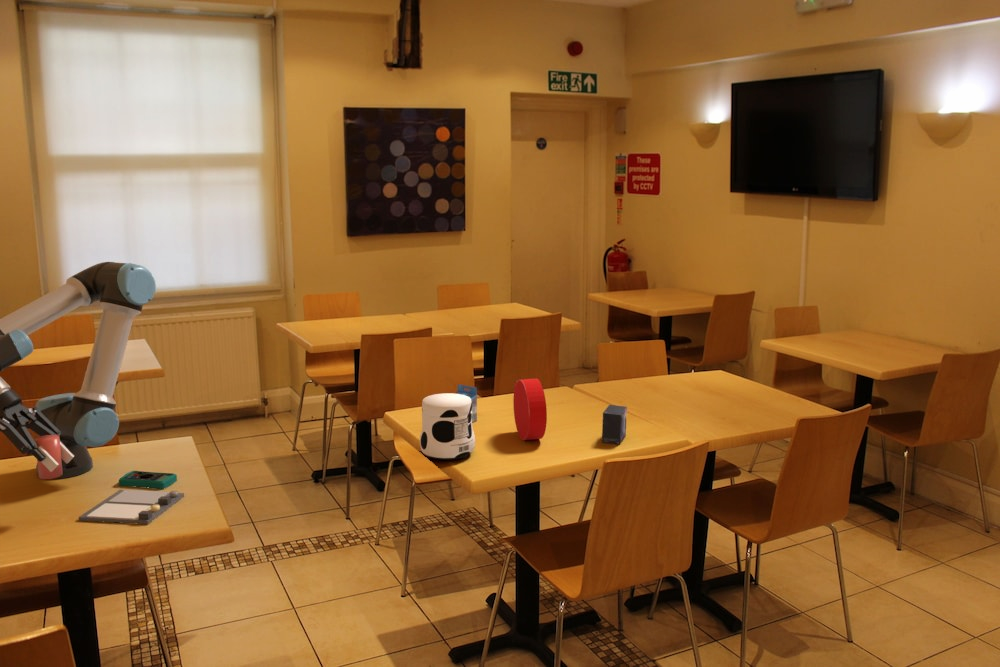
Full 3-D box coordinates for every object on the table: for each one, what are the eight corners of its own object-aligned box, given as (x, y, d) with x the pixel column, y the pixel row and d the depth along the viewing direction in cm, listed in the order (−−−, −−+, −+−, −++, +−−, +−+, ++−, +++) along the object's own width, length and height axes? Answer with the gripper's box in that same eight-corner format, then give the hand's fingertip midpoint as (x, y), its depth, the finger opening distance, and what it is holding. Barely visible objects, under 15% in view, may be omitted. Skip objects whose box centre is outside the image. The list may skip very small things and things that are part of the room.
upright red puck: (546, 446, 281) (547, 386, 277) (529, 448, 280) (529, 388, 276) (529, 428, 300) (530, 372, 296) (513, 429, 299) (513, 373, 295)
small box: (620, 445, 282) (621, 414, 280) (601, 443, 285) (601, 412, 282) (627, 435, 292) (627, 405, 290) (607, 434, 294) (608, 404, 292)
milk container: (428, 444, 284) (427, 391, 280) (480, 447, 281) (480, 393, 277) (413, 462, 267) (411, 405, 264) (467, 466, 264) (467, 408, 260)
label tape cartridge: (451, 419, 311) (450, 386, 308) (457, 417, 314) (457, 383, 312) (471, 423, 306) (470, 389, 303) (477, 421, 309) (477, 387, 307)
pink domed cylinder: (48, 470, 228) (44, 434, 225) (67, 472, 227) (64, 435, 225) (33, 478, 222) (30, 440, 220) (53, 479, 221) (50, 442, 219)
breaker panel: (119, 493, 243) (119, 484, 243) (184, 496, 241) (183, 487, 240) (78, 520, 225) (77, 511, 224) (148, 524, 222) (147, 515, 222)
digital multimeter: (132, 478, 256) (131, 469, 255) (178, 481, 253) (177, 472, 252) (117, 487, 249) (116, 478, 248) (164, 491, 246) (163, 481, 245)
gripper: (15, 397, 232) (76, 460, 233) (-37, 418, 214) (29, 486, 215) (32, 379, 230) (93, 443, 231) (-20, 398, 213) (47, 467, 213)
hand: (62, 463), depth 223 cm, fingers closed on pink domed cylinder, 5 cm apart
